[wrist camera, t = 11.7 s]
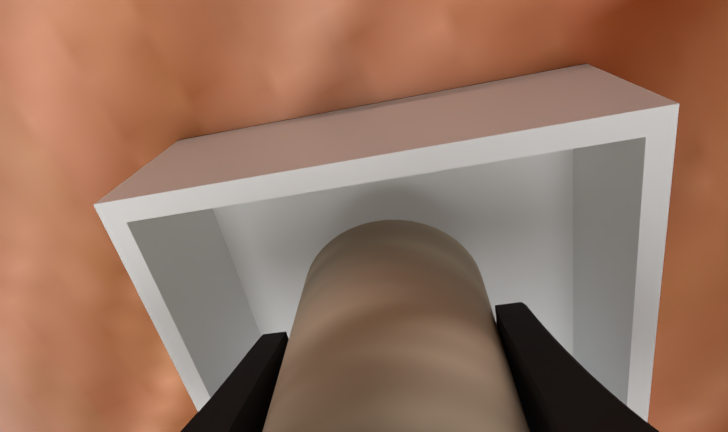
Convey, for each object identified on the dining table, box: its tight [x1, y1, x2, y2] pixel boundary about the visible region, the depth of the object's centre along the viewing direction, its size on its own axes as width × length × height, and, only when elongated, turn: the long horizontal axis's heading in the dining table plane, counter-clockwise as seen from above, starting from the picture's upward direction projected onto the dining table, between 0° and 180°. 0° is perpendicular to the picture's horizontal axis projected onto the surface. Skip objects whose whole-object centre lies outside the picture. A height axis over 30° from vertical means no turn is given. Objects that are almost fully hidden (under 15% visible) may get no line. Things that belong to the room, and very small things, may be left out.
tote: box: [93, 64, 679, 422], centre depth 16 cm, size 13×17×5 cm
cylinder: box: [262, 220, 530, 432], centre depth 10 cm, size 5×5×7 cm
